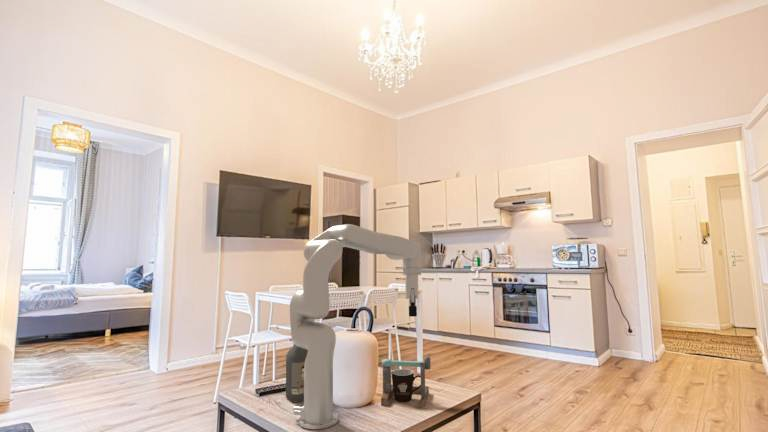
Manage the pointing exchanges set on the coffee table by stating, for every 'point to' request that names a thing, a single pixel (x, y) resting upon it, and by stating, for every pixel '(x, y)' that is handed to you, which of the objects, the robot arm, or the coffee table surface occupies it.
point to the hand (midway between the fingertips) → (412, 316)
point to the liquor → (295, 373)
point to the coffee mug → (403, 384)
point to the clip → (406, 363)
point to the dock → (422, 390)
